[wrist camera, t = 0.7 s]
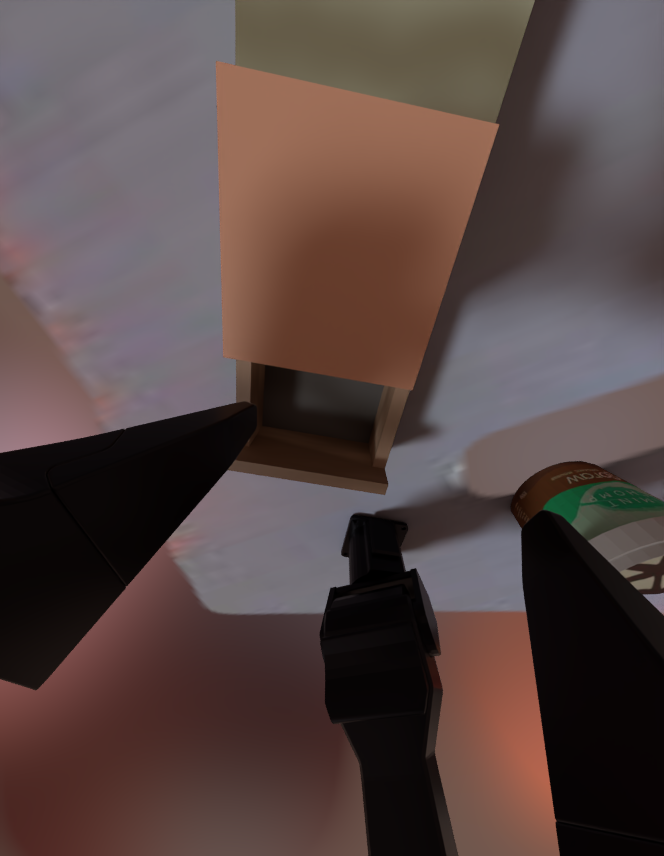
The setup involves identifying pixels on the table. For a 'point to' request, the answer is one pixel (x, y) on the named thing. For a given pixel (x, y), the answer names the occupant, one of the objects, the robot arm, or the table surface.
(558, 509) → the food container
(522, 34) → the track
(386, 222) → the terracotta block
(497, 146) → the table surface
